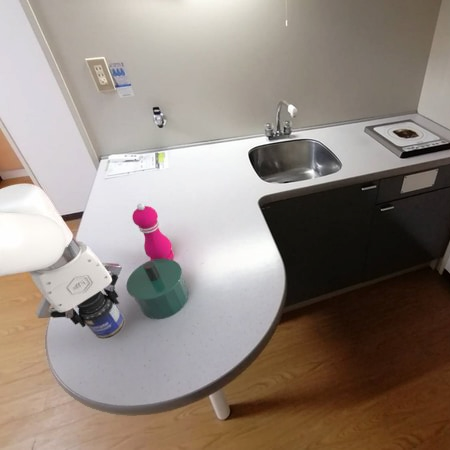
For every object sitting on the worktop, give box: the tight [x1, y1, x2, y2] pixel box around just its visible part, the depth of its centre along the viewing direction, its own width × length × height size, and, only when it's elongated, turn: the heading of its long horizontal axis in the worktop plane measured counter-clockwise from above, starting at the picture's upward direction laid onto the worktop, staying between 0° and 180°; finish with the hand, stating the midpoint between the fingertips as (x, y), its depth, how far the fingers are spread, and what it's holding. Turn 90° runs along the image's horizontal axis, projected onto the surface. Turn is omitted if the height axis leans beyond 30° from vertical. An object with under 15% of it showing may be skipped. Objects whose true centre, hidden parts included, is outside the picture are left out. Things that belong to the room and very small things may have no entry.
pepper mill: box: [131, 203, 175, 261], centre depth 85 cm, size 7×7×20 cm
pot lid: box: [126, 259, 183, 300], centre depth 73 cm, size 13×13×6 cm
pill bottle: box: [76, 290, 125, 340], centre depth 65 cm, size 6×6×11 cm
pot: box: [133, 276, 189, 320], centre depth 77 cm, size 12×12×8 cm
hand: (98, 310), depth 65 cm, fingers closed on pill bottle, 6 cm apart
